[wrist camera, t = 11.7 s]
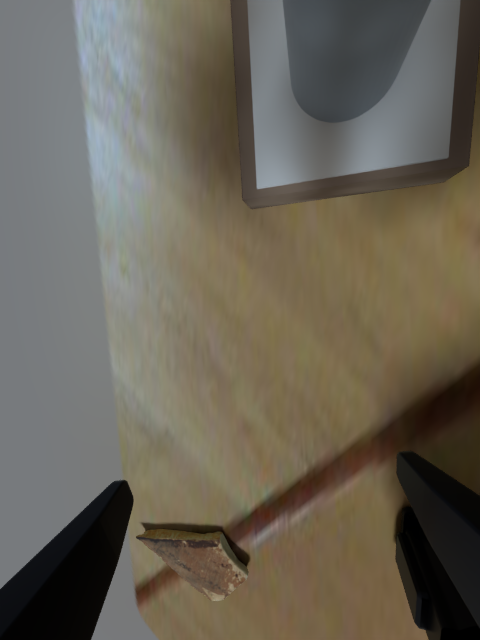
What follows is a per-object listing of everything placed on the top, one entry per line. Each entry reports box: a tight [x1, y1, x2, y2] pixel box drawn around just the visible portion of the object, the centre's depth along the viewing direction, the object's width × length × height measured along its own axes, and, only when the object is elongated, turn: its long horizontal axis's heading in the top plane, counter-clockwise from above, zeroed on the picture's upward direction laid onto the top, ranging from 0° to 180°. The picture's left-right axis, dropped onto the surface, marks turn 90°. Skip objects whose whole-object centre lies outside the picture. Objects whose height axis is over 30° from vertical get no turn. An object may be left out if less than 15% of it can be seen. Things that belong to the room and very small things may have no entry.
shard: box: [136, 529, 249, 601], centre depth 26 cm, size 11×8×2 cm
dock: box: [231, 0, 480, 209], centre depth 14 cm, size 12×12×3 cm
